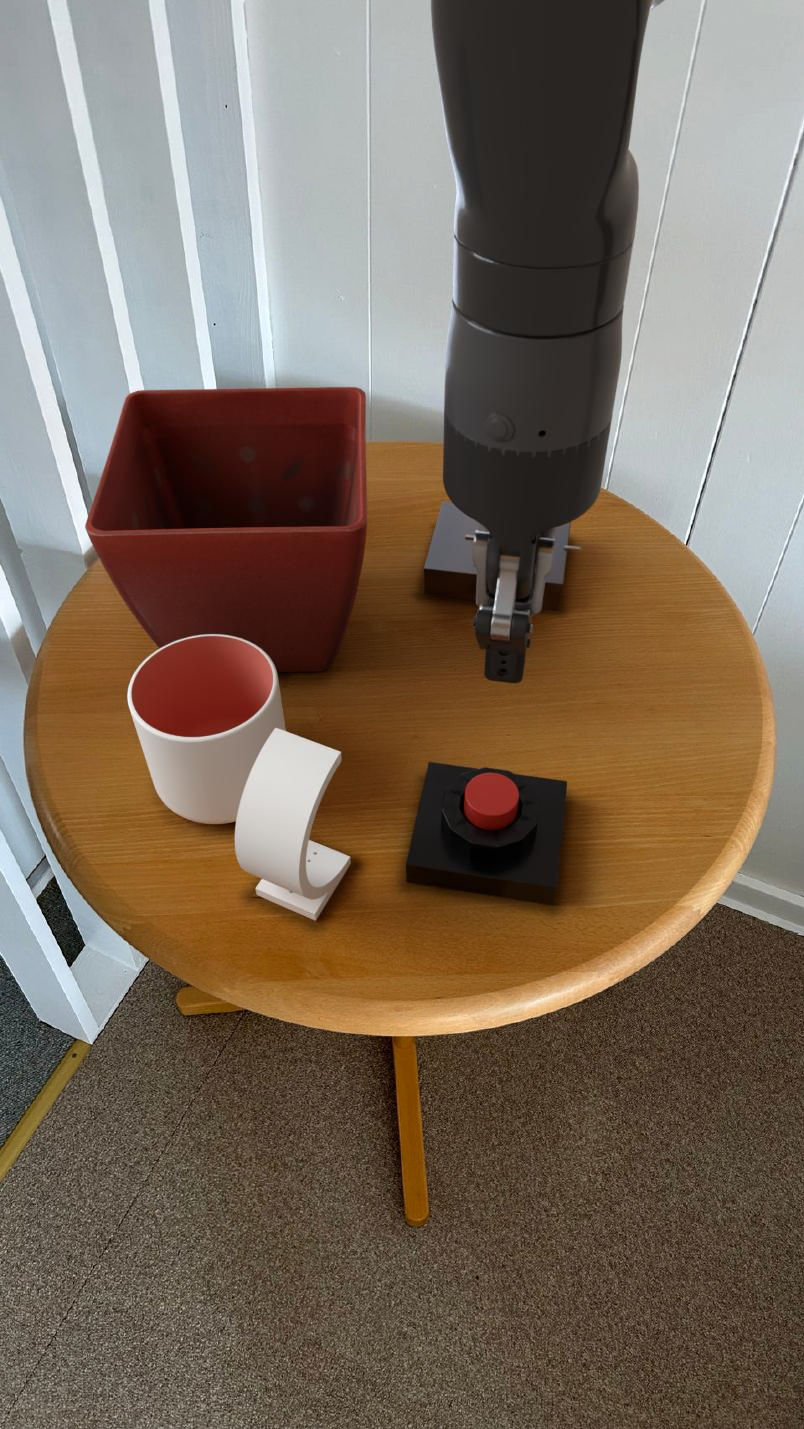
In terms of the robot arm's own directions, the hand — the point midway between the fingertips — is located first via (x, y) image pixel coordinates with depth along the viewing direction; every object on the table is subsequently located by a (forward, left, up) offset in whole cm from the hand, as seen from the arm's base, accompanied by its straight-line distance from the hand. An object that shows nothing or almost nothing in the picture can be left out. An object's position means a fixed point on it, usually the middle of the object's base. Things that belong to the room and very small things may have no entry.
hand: (504, 672), depth 56 cm
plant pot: (+22, -19, -17) cm, 34 cm away
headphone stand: (+12, +6, -17) cm, 22 cm away
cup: (+20, -2, -17) cm, 26 cm away
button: (0, 0, -13) cm, 13 cm away
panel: (+3, -30, -17) cm, 34 cm away
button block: (0, 0, -17) cm, 17 cm away
